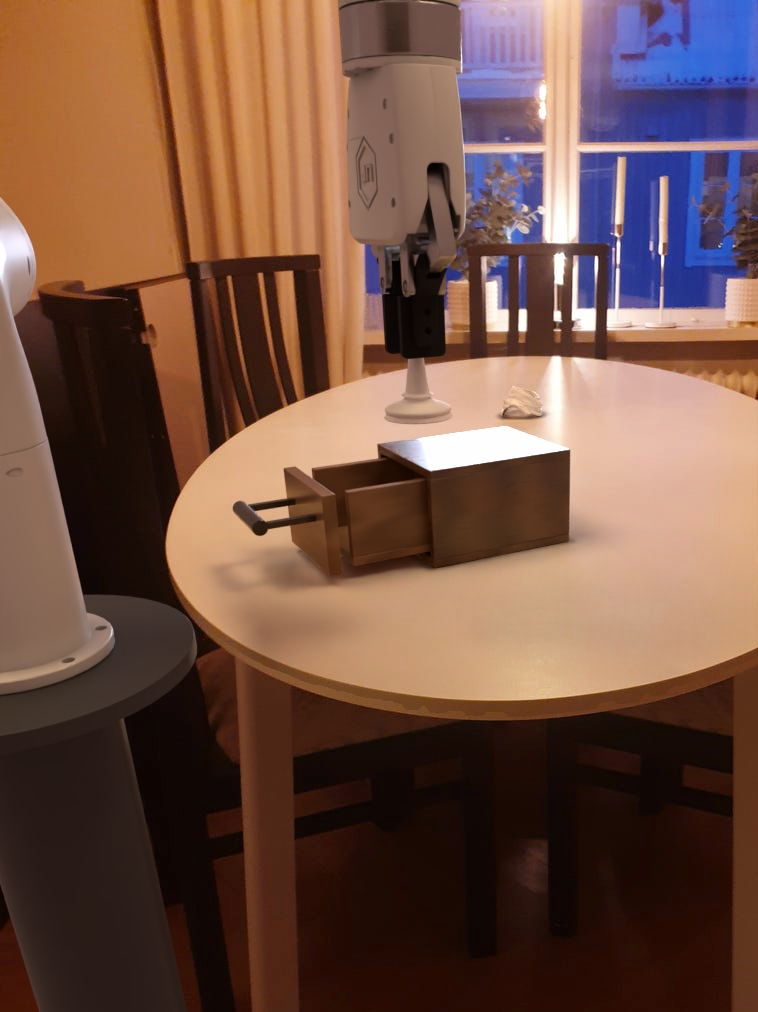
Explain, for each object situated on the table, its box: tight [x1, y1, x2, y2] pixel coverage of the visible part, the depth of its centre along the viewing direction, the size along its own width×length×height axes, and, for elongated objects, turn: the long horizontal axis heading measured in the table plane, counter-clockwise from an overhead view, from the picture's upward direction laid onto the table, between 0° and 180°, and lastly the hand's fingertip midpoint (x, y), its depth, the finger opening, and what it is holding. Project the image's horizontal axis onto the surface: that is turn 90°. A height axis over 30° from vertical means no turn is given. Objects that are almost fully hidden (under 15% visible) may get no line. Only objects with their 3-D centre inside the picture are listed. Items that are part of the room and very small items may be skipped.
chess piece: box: [383, 358, 453, 425], centre depth 65 cm, size 5×5×10 cm
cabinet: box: [376, 425, 571, 569], centre depth 92 cm, size 15×13×9 cm
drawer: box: [232, 457, 430, 578], centre depth 86 cm, size 19×11×7 cm, turn 117°
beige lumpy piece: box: [500, 386, 544, 417], centre depth 147 cm, size 8×7×5 cm
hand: (415, 352), depth 65 cm, fingers closed on chess piece
